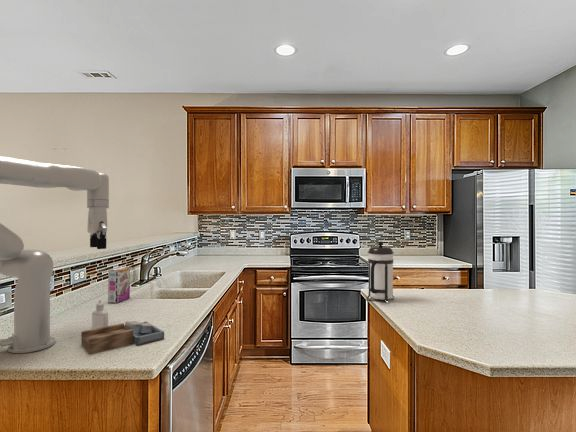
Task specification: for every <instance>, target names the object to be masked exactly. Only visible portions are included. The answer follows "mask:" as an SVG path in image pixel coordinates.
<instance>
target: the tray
mask: <svg viewBox="0 0 576 432" xmlns="http://www.w3.org/2000/svg"><path fill="white" fill-rule="evenodd" d="M141 323H149V322H148V321H142V322H141ZM152 325H153V324H152ZM161 340H165V331H163V330H162V329H160V328H158V327H157V326H155V325H153V332H152V333H140V332H139V331H137V332H133V344H134V345H136V346H141V345H145V344H146V345H147V344H149V343H153V342H157V341H161Z"/></svg>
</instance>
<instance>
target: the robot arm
mask: <svg viewBox="0 0 576 432" xmlns="http://www.w3.org/2000/svg"><path fill="white" fill-rule="evenodd" d="M109 177H110V176H109V175H108V174H107V173H102V172H98V171H96V170H94V169H91V168H88V167H87V168H86V167H81V166H72V165H65V164H64V165H63V164H56V163H50V162H42V161H34V160H29V159H23V158H17V157H12V156H7V155H0V184H3V185H12V186H23V187H33V188H39V189H40V188H43V189H44V188H45V189H53V188H66V189H68V190H70V191H74V192H79V191H86V208H87V209H88V213H87V215H88V217H87V229H86V230H87V233H89V247H90V248H96V249H97V250H105V249H107V231H108V212H107V209H109V208H110V205H109V204H110V196H109V195H110V184H109V183H110V180H109V179H110V178H109ZM24 246H25V244H24V241H23V239H22V238H21V237H20V236H19V234H17V233H15V232H13V231H12V230H11V229H9V227H7V226H5V225H4V224H2V223H1V222H0V274H1V275H3V276H6V277H9V278H15V279H17V282H16V285H15V288H14V291H13V292H14V293H13V303H14V304H13V333H12V334H11V336H8V337H7V338H1V339H0V348H3V347H7V351H8V352H9V353H11V354H26V353H27V354H29V353H33V352H38V351H42V350H45V349H47V348H50V347H51V346H53V345H55V344H56V341H57V340H56V338H55V337H54V336H51V281H52V277H53V272H54V261H53V257H51V256H50V254H48V253H47V252H45V251H43V250H37V249H24V248H25V247H24Z"/></svg>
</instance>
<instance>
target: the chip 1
mask: <svg viewBox="0 0 576 432" xmlns="http://www.w3.org/2000/svg"><path fill="white" fill-rule="evenodd" d="M141 323H142V322H138V321H136V320H133V321H128V320H127V321H125V323H124V329H125V330H130V329H132V330H133V332H137V331H141V327H142V324H141Z"/></svg>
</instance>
